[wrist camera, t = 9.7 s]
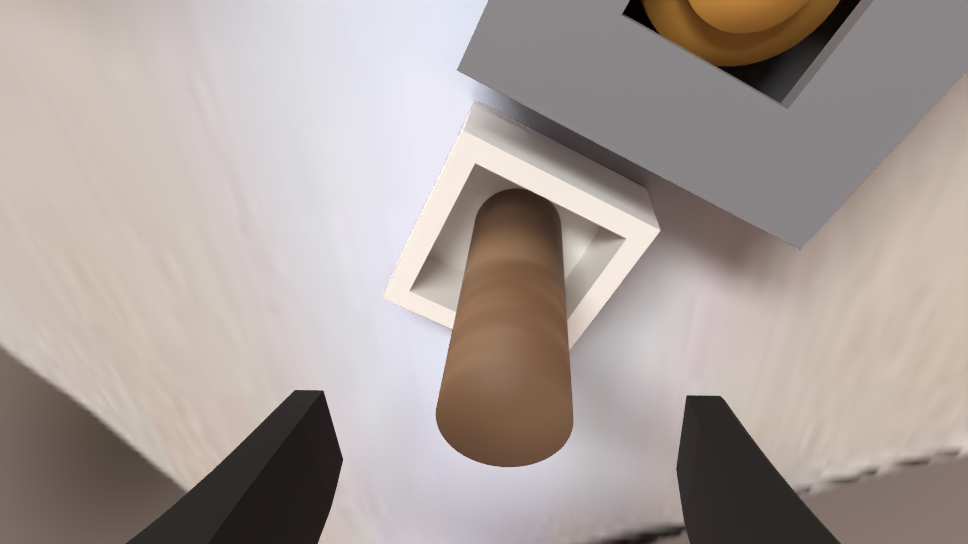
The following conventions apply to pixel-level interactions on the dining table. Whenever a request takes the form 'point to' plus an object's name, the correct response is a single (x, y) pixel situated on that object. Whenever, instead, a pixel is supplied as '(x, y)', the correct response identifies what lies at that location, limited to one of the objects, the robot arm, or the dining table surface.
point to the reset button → (737, 26)
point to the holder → (547, 172)
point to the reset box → (728, 99)
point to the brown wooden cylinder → (510, 338)
